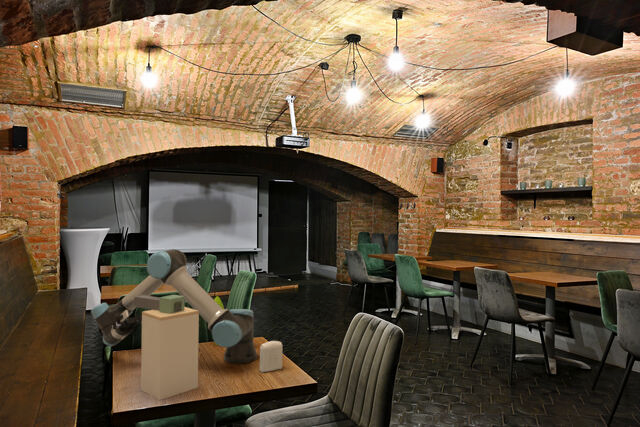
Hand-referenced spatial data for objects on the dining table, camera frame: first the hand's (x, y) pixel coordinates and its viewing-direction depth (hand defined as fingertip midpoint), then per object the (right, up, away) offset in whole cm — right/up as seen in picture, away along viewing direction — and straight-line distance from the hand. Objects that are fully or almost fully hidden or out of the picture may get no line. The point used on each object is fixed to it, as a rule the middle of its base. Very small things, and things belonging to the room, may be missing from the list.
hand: (143, 310), depth 187 cm
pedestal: (+16, -27, -14) cm, 35 cm away
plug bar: (+10, +3, -10) cm, 15 cm away
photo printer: (+53, -28, +8) cm, 60 cm away
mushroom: (+21, -27, +44) cm, 56 cm away
